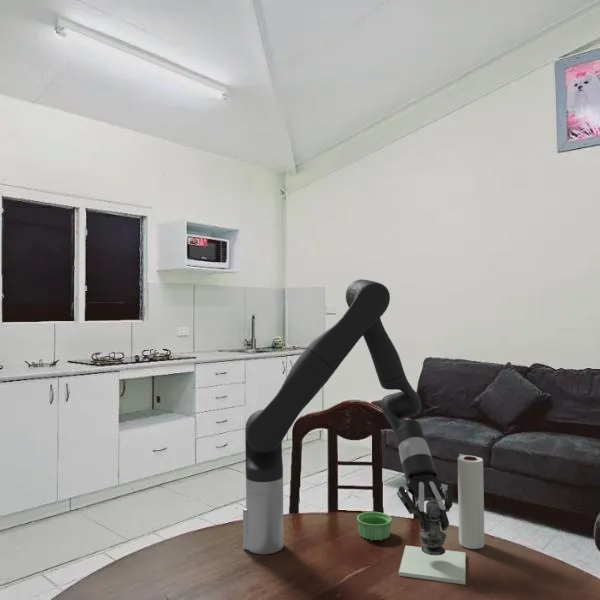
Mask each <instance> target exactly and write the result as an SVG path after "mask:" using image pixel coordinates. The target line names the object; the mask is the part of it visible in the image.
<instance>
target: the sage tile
mask: <svg viewBox="0 0 600 600" xmlns="http://www.w3.org/2000/svg"><path fill="white" fill-rule="evenodd" d="M422 547H423V546H422ZM422 547H421V546H414V545H413V546H412V545H405V547H404V550H403V554H402V558H401V561H400V566H399V569H398V576H401V577H407V578H414V579H422V580H430V581H437V582H445V583H452V584H459V585H466V552H464V551H456V550H448V549H447V550H446V549H445V553H444V554H442V555H429V554H426V553H424V552H423V551H422Z"/></svg>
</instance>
